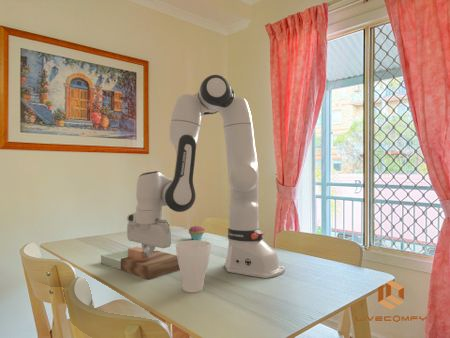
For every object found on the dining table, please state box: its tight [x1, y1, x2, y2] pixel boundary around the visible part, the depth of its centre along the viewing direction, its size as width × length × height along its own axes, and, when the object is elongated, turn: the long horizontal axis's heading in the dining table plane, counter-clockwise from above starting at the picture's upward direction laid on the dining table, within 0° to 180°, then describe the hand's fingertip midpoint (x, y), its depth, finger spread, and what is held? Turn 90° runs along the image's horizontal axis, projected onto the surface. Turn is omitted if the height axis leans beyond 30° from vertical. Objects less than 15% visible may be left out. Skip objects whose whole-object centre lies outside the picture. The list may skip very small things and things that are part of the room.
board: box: [120, 250, 180, 280], centre depth 114 cm, size 16×16×4 cm
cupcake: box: [188, 217, 206, 241], centre depth 167 cm, size 9×8×12 cm
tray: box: [100, 249, 128, 271], centre depth 123 cm, size 13×16×3 cm
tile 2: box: [134, 249, 150, 261], centre depth 113 cm, size 4×4×3 cm
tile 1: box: [127, 246, 142, 258], centre depth 116 cm, size 4×4×3 cm
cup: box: [175, 239, 212, 294], centre depth 95 cm, size 10×10×14 cm
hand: (148, 257), depth 111 cm, fingers closed
